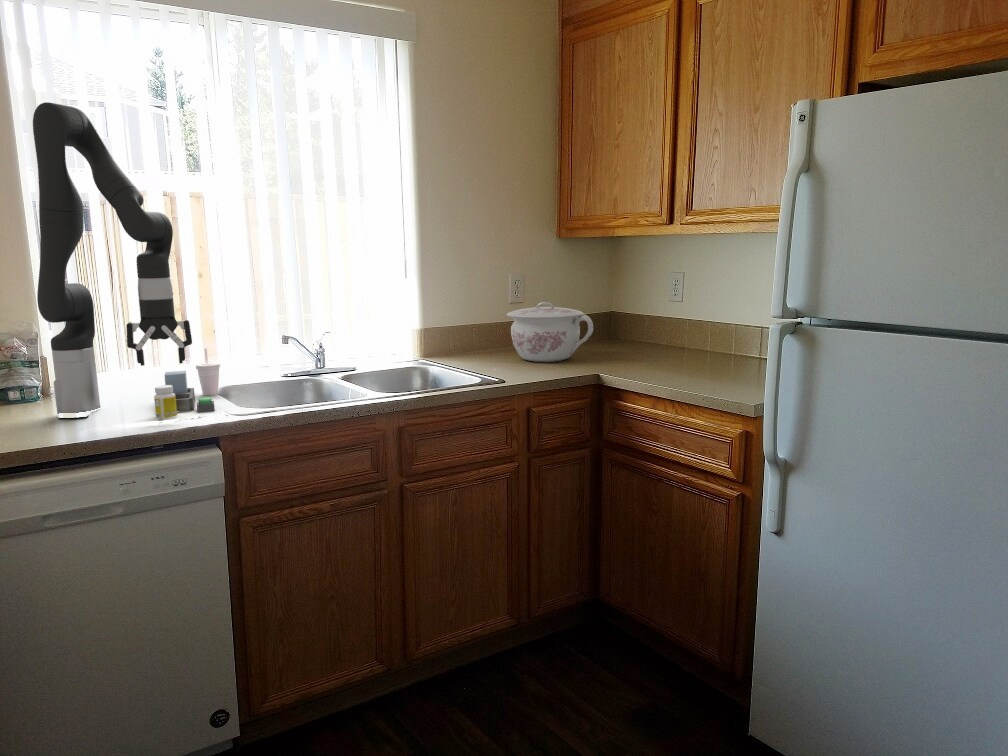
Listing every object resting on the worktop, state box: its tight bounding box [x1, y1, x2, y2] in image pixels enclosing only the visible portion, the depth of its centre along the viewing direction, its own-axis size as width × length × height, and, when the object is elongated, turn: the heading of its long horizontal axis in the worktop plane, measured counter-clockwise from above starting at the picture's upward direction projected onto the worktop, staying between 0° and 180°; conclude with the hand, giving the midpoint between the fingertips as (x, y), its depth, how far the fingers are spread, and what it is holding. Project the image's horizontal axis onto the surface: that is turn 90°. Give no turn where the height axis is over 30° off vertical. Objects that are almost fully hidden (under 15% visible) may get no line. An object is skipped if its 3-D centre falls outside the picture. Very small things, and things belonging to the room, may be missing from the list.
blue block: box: [164, 370, 189, 394], centre depth 200 cm, size 5×5×8 cm
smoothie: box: [195, 347, 221, 396], centre depth 211 cm, size 6×6×14 cm
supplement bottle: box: [153, 385, 178, 419], centre depth 186 cm, size 5×5×8 cm
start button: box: [197, 396, 213, 405], centre depth 191 cm, size 3×3×4 cm
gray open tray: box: [175, 387, 196, 413], centre depth 197 cm, size 8×17×4 cm, turn 21°
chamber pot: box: [506, 301, 594, 363], centre depth 269 cm, size 28×28×21 cm
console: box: [196, 400, 216, 413], centre depth 191 cm, size 4×4×3 cm
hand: (162, 364), depth 184 cm, fingers open, 8 cm apart
